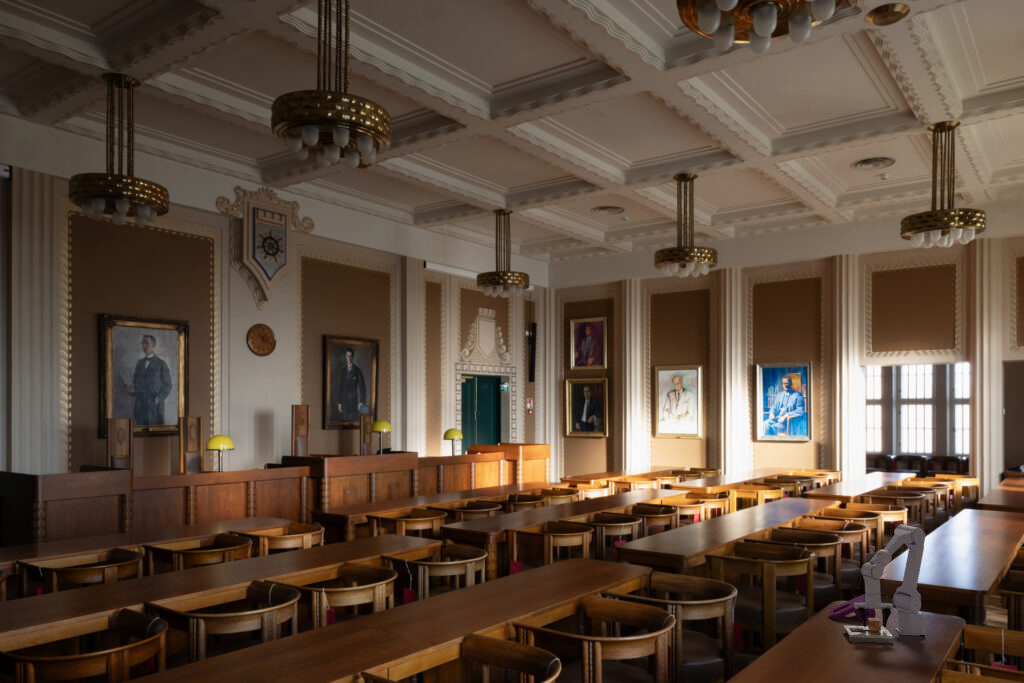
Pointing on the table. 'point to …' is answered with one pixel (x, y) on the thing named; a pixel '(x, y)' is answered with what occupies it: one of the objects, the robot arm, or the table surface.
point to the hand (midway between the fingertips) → (874, 626)
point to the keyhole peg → (874, 624)
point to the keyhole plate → (868, 634)
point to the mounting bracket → (851, 609)
